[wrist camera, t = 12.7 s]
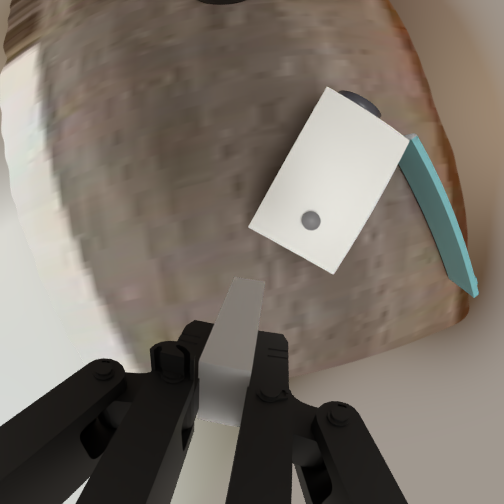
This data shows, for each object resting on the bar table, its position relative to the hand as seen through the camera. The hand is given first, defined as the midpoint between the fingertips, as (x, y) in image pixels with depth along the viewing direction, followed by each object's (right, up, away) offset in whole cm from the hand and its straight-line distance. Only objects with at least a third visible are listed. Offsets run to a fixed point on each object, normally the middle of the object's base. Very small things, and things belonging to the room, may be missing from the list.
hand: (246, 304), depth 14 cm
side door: (+27, +9, +22) cm, 35 cm away
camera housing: (+10, +13, +23) cm, 28 cm away
